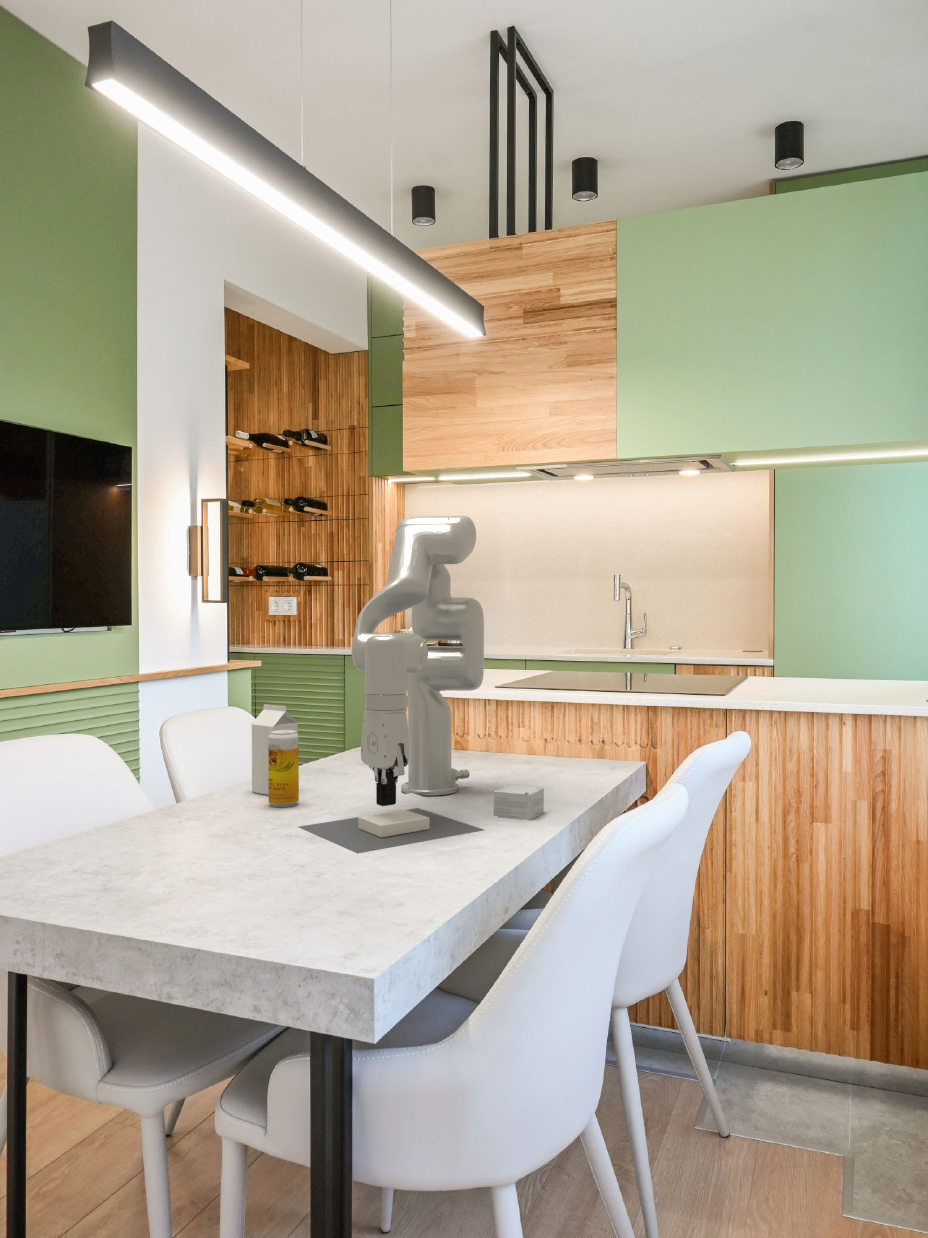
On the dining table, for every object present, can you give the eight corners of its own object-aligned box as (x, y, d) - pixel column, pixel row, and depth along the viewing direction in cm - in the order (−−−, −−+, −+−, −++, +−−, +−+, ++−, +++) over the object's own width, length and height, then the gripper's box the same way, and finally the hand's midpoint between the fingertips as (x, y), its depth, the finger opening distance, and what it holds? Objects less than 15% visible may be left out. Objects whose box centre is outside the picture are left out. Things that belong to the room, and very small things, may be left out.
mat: (417, 810, 181) (417, 807, 181) (485, 833, 163) (485, 829, 163) (297, 830, 165) (297, 826, 165) (357, 857, 147) (357, 853, 147)
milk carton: (273, 796, 194) (273, 707, 194) (251, 792, 198) (251, 705, 198) (298, 791, 200) (298, 704, 200) (276, 787, 204) (276, 702, 204)
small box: (507, 809, 183) (507, 783, 183) (544, 813, 180) (544, 787, 179) (492, 817, 176) (492, 791, 176) (530, 821, 172) (530, 794, 172)
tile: (405, 809, 169) (429, 817, 163) (405, 821, 169) (429, 829, 163) (358, 817, 163) (381, 825, 157) (358, 829, 163) (381, 838, 157)
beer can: (262, 806, 185) (261, 732, 185) (281, 800, 190) (281, 728, 190) (285, 809, 182) (285, 734, 182) (304, 803, 188) (304, 730, 187)
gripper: (347, 701, 169) (348, 800, 169) (389, 708, 157) (389, 815, 157) (382, 699, 173) (382, 795, 173) (426, 705, 161) (426, 809, 161)
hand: (386, 804), depth 165 cm, fingers closed
